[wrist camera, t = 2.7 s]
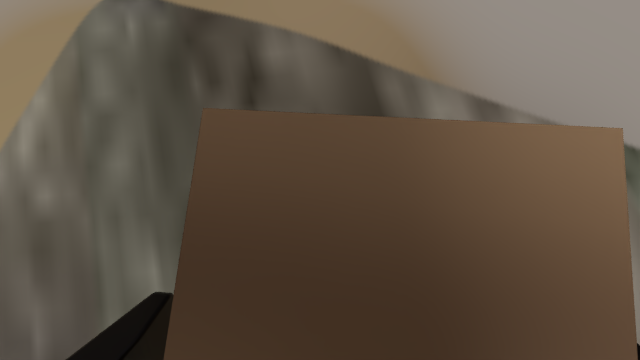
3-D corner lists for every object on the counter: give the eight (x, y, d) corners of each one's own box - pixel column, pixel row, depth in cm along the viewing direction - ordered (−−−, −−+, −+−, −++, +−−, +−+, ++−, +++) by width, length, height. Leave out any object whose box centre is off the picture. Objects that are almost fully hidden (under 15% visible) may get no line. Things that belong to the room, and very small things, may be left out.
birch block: (434, 403, 16) (666, 799, 4) (298, 387, 16) (112, 682, 4) (439, 237, 17) (623, 128, 5) (312, 227, 18) (203, 107, 6)
